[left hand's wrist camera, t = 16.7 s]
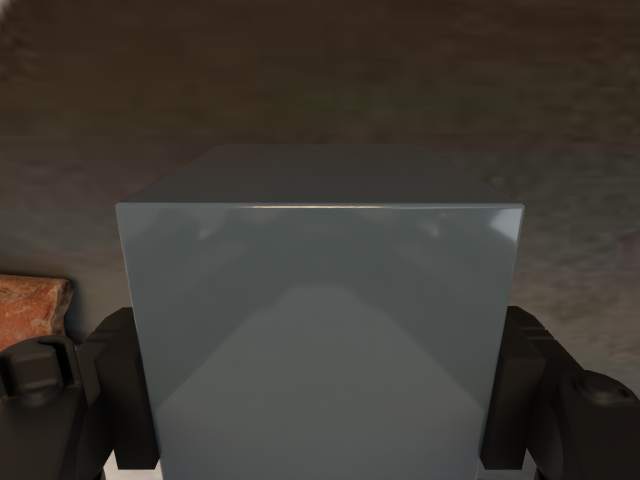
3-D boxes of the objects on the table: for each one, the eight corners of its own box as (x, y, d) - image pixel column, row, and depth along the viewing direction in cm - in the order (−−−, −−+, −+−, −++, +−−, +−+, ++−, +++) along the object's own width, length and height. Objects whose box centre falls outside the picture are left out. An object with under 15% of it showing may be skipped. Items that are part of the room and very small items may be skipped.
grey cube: (422, 144, 14) (527, 203, 7) (404, 353, 17) (466, 549, 10) (217, 144, 14) (111, 203, 7) (235, 353, 17) (173, 549, 10)
